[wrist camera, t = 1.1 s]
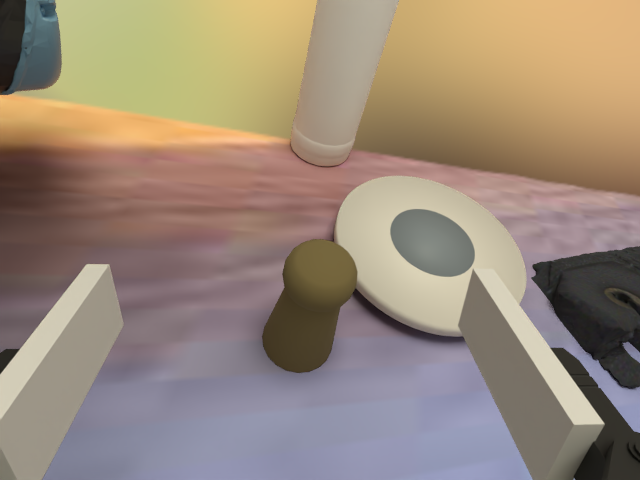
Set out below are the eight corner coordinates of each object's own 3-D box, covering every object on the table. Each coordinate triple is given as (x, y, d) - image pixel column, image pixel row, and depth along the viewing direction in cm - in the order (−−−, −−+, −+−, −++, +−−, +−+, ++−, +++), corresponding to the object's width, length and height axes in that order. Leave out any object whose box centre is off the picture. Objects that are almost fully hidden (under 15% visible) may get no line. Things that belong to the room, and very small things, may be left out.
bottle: (277, 136, 55) (329, -187, 33) (325, 124, 59) (399, -170, 37) (313, 174, 51) (399, -159, 29) (361, 159, 55) (468, -143, 33)
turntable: (295, 216, 44) (298, 205, 43) (423, 168, 54) (428, 158, 53) (431, 377, 35) (439, 368, 34) (553, 282, 45) (562, 273, 44)
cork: (342, 363, 36) (383, 288, 28) (273, 380, 33) (296, 305, 25) (318, 303, 39) (349, 221, 31) (254, 315, 37) (269, 231, 29)
